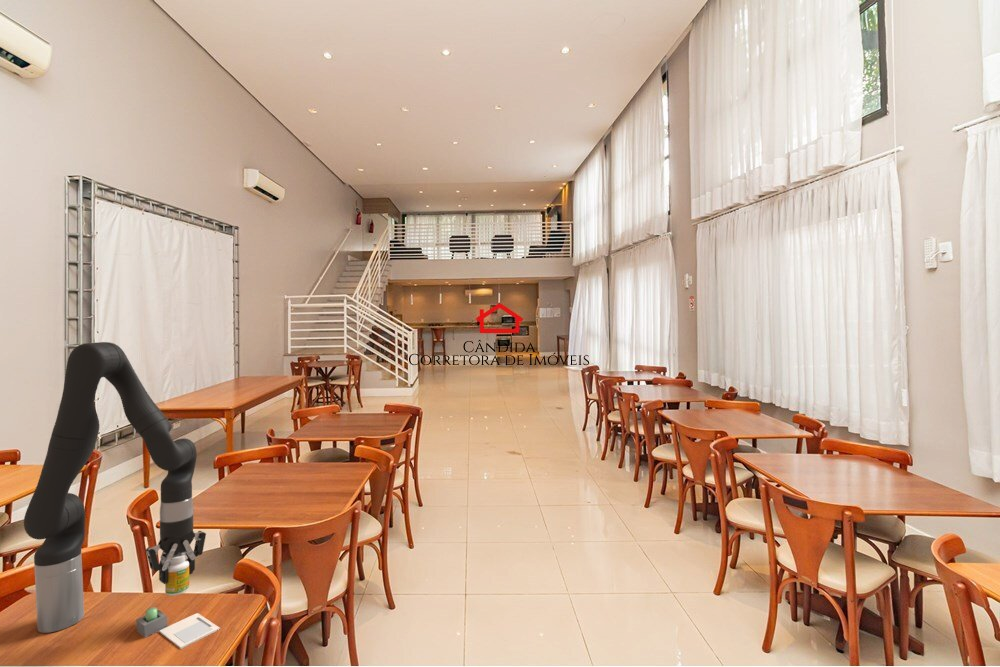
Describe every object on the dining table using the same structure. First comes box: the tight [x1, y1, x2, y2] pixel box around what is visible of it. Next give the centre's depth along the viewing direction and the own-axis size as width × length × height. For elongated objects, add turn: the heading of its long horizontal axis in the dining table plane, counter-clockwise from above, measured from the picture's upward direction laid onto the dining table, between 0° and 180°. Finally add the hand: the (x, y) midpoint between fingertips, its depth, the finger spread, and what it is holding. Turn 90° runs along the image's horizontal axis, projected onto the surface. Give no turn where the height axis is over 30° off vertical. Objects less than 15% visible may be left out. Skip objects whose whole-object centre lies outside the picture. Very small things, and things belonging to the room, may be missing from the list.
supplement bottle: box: [164, 552, 190, 597], centre depth 132 cm, size 5×5×10 cm
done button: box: [145, 606, 158, 623], centre depth 126 cm, size 2×2×3 cm
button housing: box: [135, 609, 168, 638], centre depth 126 cm, size 5×5×3 cm
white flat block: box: [158, 612, 221, 650], centre depth 125 cm, size 12×9×1 cm
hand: (177, 577), depth 133 cm, fingers closed on supplement bottle, 5 cm apart
